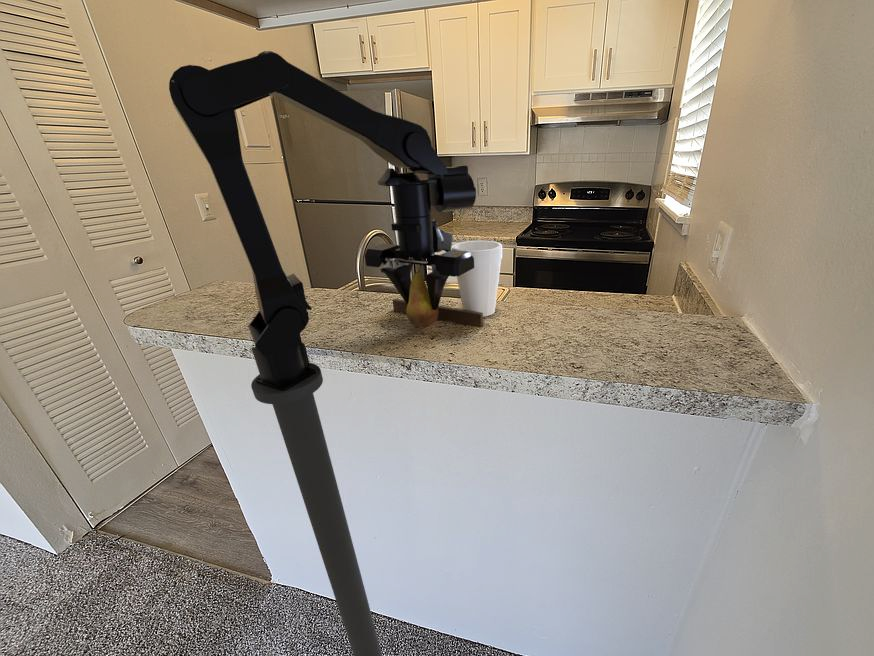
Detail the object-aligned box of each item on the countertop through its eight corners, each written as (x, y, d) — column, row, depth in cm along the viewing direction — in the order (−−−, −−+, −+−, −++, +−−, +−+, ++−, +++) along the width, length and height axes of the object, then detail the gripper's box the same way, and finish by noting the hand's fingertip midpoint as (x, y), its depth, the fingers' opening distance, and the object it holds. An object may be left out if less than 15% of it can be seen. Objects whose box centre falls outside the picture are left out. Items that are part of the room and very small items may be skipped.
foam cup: (481, 300, 87) (479, 238, 81) (512, 310, 81) (512, 244, 75) (446, 311, 81) (441, 246, 75) (476, 324, 75) (474, 254, 69)
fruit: (408, 325, 75) (394, 260, 71) (439, 318, 76) (426, 254, 71) (410, 333, 70) (394, 264, 65) (443, 326, 71) (429, 257, 66)
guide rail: (481, 327, 74) (480, 314, 73) (393, 311, 82) (392, 300, 81) (483, 325, 75) (483, 312, 73) (396, 310, 83) (395, 298, 82)
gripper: (488, 210, 67) (489, 300, 74) (397, 206, 75) (406, 288, 82) (454, 220, 58) (459, 321, 65) (355, 215, 66) (370, 305, 73)
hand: (422, 307), depth 72 cm, fingers closed on fruit, 5 cm apart
